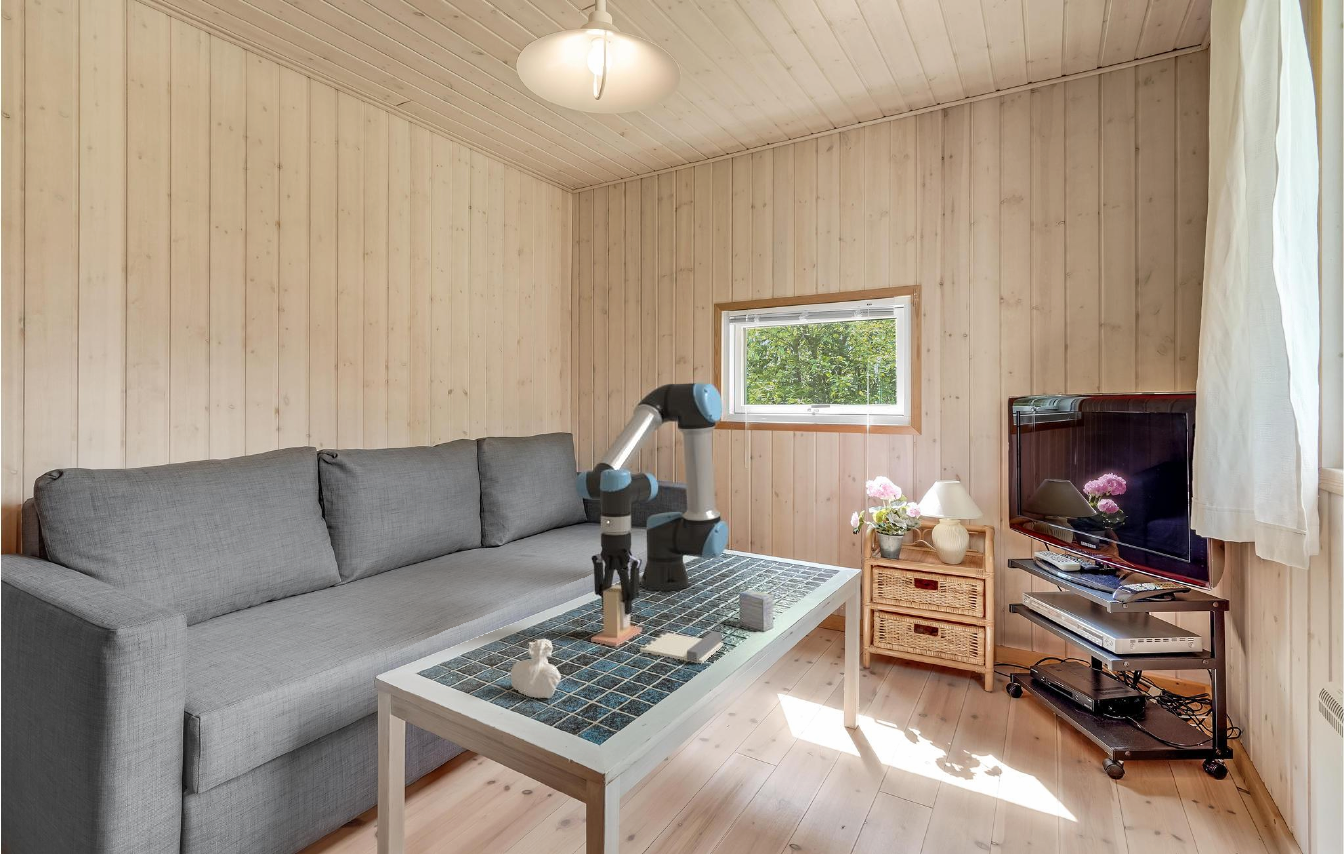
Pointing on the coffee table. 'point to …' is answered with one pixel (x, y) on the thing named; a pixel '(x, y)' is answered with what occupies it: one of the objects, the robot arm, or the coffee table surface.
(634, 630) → the stub
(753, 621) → the grey rectangular block
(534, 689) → the white tied sack
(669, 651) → the cream flat slab
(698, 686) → the coffee table surface
